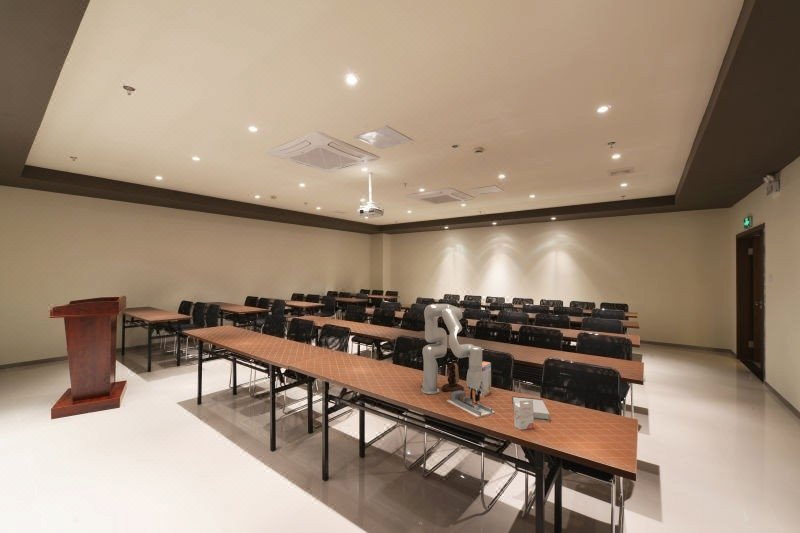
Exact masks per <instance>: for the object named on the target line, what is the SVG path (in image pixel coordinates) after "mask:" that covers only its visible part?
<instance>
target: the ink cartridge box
mask: <svg viewBox="0 0 800 533" xmlns="http://www.w3.org/2000/svg"><path fill="white" fill-rule="evenodd" d="M526 402H528V403H526ZM513 410H514V412H513V415H514V427H515V428H516V429H518V430H519V431H520V430H531V429H534V420H533V400H524V401H520V403H519V404H514V407H513Z"/></svg>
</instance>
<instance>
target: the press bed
mask: <svg viewBox="0 0 800 533" xmlns="http://www.w3.org/2000/svg"><path fill="white" fill-rule="evenodd" d="M463 395H464V396H466V392H465V390H464V391H461V390H460V391H455V392H450V399H447V400H446V402H448V403H450V404H451V405H453V406H455V407H458V408H459V409H461V410H463V411H465V412H467V413H468V414H471V415H473V416H475V417H474V419H475V420H479V419H483V418H486V417H491V416H495V415H496V413H495V411H494V410H493V408H491V407H489V406H487V405H485V404H483V403H481V408H480V409H475V408H473V407H471V406H469V405H467V404H465V403H463V402H461V401H460V397H461V396H463Z"/></svg>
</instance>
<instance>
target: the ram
mask: <svg viewBox="0 0 800 533" xmlns="http://www.w3.org/2000/svg"><path fill="white" fill-rule="evenodd" d="M475 394H476V390H475V389H472V399H470V395H469V396H466V397H463V403H465V404H467V405H469V406H471V407H473V408H475V409H480V408H481V404H482V403H480V402H479V401H475Z"/></svg>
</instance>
